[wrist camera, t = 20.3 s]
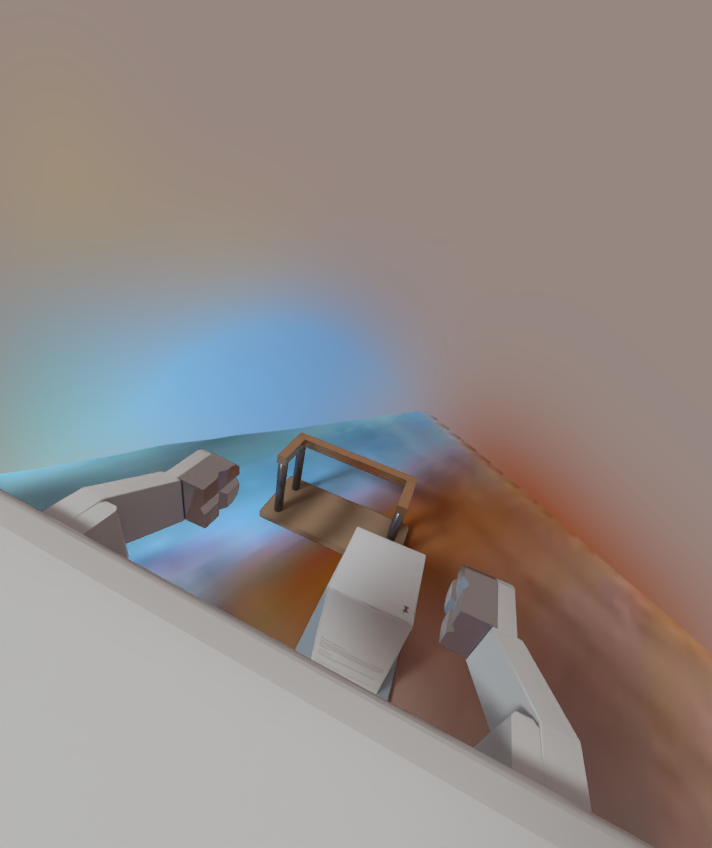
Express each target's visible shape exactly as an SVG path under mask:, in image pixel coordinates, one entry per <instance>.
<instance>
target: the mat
mask: <svg viewBox="0 0 712 848" xmlns="http://www.w3.org/2000/svg"><path fill="white" fill-rule="evenodd" d="M329 582H330V581H329ZM328 584H329V583H328ZM327 586H328V585H327ZM326 593H327V587H326V589H325V591H324V593H323V595H322V597H321V599H320V601H319V603H318V605H317V607H316V609H315V611H314V613H313V615H312V617H311V619H310V621H309V623H308V625H307V627H306V629H305V631H304V633H303V635H302V637H301V639H300V641H299V643H298V645H297V647H296V649H295V650H296V651H297V652H299V653H301V654H303V655H305V656H306V657H308V658H310V659H311V655H312V651H313V647H314V642H315V638H316V634H317V630H318V626H319V622H320V618H321V614H322V610H323V606H324V602H325V598H326ZM398 656H399V654H398ZM398 656H397V657H396V659H395V661H394V663H393V665H392V667H391V668H390V670H389V672H388V674H387V676H386V678H385V680H384V682H383V683H382V685H381V687H380V689H379V691H378V693H377V694H376V695H378V696H379V697H381V698H383V699H385V700H387V701H388V697H389V693H390V689H391V685H392V681H393V677H394V673H395V669H396V664H397V660H398ZM370 692H371V691H370Z"/></svg>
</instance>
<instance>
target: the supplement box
mask: <svg viewBox="0 0 712 848" xmlns="http://www.w3.org/2000/svg"><path fill="white" fill-rule="evenodd" d="M425 559H426V555H425V554H422V553H420V552H417V551H415V550H413V549H410V548H408V547H405V546H403V545H400V544H398V543H396V542H393V541H391V540H389V539H386V538H384V537H381V536H379V535H377V534H374V533H372V532H369V531H367V530H365V529H362V528H360V527H357V528H356V530H355V532H354V534H353V536H352V538H351V540H350V542H349V544H348V546H347V548H346V550H345V552H344V554H343V556H342V558H341V560H340V562H339V564H338V566H337V568H336V570H335V572H334V574H333V576H332V578H331V580H330V582H329V584H328V586H327V593H326V598H325V602H324V606H323V610H322V614H321V618H320V622H319V626H318V630H317V634H316V638H315V642H314V647H313V651H312V655H311V659H312V660H314V661H316V662H317V663H319V664H321V665H323V666H325V667H327V668H328V669H330V670H332V671H334V672H336V673H338V674H339V675H341V676H343V677H345V678H347V679H348V680H350V681H352V682H354V683H356V684H358V685H359V686H361V687H363V688H365V689H367V690H369V691H371V692H372V693H374V694H377V693H378V691H379V689H380V687H381V685H382V683H383V682H384V680H385V678H386V676H387V674H388V672H389V670H390V668H391V667H392V665H393V663H394V661H395V659H396V657H397V656H398V654H399V652H400V650H401V648H402V646H403V644H404V643H405V641H406V639H407V637H408V635H409V633H410V632H411V630H412V628H413V625H414V619H415V614H416V608H417V602H418V597H419V591H420V585H421V580H422V574H423V569H424V564H425Z"/></svg>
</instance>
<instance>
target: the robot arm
mask: <svg viewBox="0 0 712 848" xmlns="http://www.w3.org/2000/svg"><path fill="white" fill-rule="evenodd" d="M238 475H239V466H238V465H236V464H234V463H232V462H230V461H228V460H226V459H223V458H221V457H219V456H217V455H215V454H212V453H210V452H208V451H206V450H204V449H200V450H197V451H196V452H194V453H193V454H191V455H190V456H188V457H187V458H185V459H184V460H182V461H181V462H179V463H178V464H177V465H175V466H174V467H172V468H171V469H169V470H168V471H166V472H165V473H164V472H162V471H159V472H154V473H149V474H145V475H140V476H135V477H130V478H125V479H121V480H116V481H111V482H106V483H101V484H97V485H92V486H87V487H82V488H81V489H79V490H77V491H76V492H74V493H72V494H70V495H69V496H67V497H65V498H64V499H62V500H60V501H58V502H57V503H55V504H53V505H52V506H50V507H48V508H46V509H45V510H43V511H40V510H38V509H36V508H34V507H32V506H30V505H29V504H27V503H25V502H23V501H21V500H20V499H18V498H16V497H14V496H12V495H10V494H9V493H7V492H5V491H3V490H1V489H0V848H656V847H654V846H652V845H650V844H648V843H647V842H645V841H643V840H641V839H639V838H637V837H636V836H634V835H632V834H630V833H628V832H626V831H625V830H623V829H621V828H619V827H617V826H615V825H614V824H612V823H610V822H608V821H606V820H604V819H603V818H601V817H599V816H597V815H595V814H593V813H592V809H591V803H590V797H589V791H588V785H587V779H586V772H585V766H584V760H583V754H582V748H581V742H580V741H579V739H578V737H577V735H576V734H575V732H574V730H573V728H572V726H571V725H570V723H569V721H568V719H567V718H566V716H565V714H564V712H563V711H562V709H561V707H560V705H559V704H558V702H557V700H556V698H555V697H554V695H553V693H552V691H551V690H550V688H549V686H548V684H547V682H546V681H545V679H544V677H543V675H542V674H541V672H540V670H539V668H538V667H537V665H536V663H535V661H534V660H533V658H532V656H531V654H530V653H529V651H528V649H527V647H526V645H525V644H524V642H523V641H522V640H520V639H518V635H517V616H516V597H515V588H514V586H513V585H510V584H508V583H506V582H503V581H501V580H499V579H496V578H494V577H492V576H490V575H487V574H485V573H483V572H480V571H478V570H476V569H473V568H471V567H469V566H466V565H463V566H462V567H461V568H460V570H459V572H458V579H455V580H453V582H452V584H451V585H450V587H449V590H448V593H447V596H446V600H445V605H444V611H445V614H446V617H445V618H444V620H443V622H442V624H441V631H440V638H439V645H441V646H443V647H445V648H447V649H449V650H451V651H453V652H454V653H456V654H458V655H460V656H462V657H464V658H466V662H467V665H468V668H469V671H470V674H471V677H472V680H473V683H474V686H475V689H476V692H477V694H478V697H479V700H480V703H481V706H482V709H483V712H484V715H485V718H486V721H487V724H488V727H489V730H490V733H489V734H488V735H487V736H486V737H484V738H483V739H482V740H481V741H480V742H479V743H477V744H476V745H475V746H474V747H471V746H469V745H467V744H465V743H464V742H462V741H460V740H458V739H456V738H454V737H453V736H451V735H449V734H447V733H445V732H443V731H442V730H440V729H438V728H436V727H434V726H433V725H431V724H429V723H427V722H425V721H423V720H422V719H420V718H418V717H416V716H414V715H412V714H411V713H409V712H407V711H405V710H403V709H401V708H400V707H398V706H396V705H394V704H392V703H390V702H389V701H387V700H385V699H383V698H381V697H379V696H378V695H376V694H374V693H372V692H370V691H369V690H367V689H365V688H363V687H361V686H359V685H358V684H356V683H354V682H352V681H350V680H348V679H347V678H345V677H343V676H341V675H339V674H338V673H336V672H334V671H332V670H330V669H328V668H327V667H325V666H323V665H321V664H319V663H317V662H316V661H314V660H312V659H310V658H308V657H306V656H305V655H303V654H301V653H299V652H297V651H296V650H294V649H292V648H290V647H288V646H286V645H285V644H283V643H281V642H279V641H277V640H275V639H274V638H272V637H270V636H268V635H266V634H264V633H263V632H261V631H259V630H257V629H255V628H253V627H252V626H250V625H248V624H246V623H244V622H242V621H241V620H239V619H237V618H235V617H233V616H232V615H230V614H228V613H226V612H224V611H222V610H221V609H219V608H217V607H215V606H213V605H211V604H210V603H208V602H206V601H204V600H202V599H200V598H199V597H197V596H195V595H193V594H191V593H189V592H188V591H186V590H184V589H182V588H180V587H178V586H177V585H175V584H173V583H171V582H169V581H167V580H166V579H164V578H162V577H160V576H158V575H157V574H155V573H153V572H151V571H149V570H147V569H146V568H144V567H142V566H140V565H138V564H136V563H135V562H133V561H131V560H129V559H128V556H129V555H128V551H127V547H126V543H129V542H131V541H134V540H136V539H139V538H141V537H144V536H146V535H149V534H151V533H154V532H156V531H159V530H161V529H164V528H166V527H169V526H171V525H174V524H176V523H179V522H181V521H184V519H186V520H188V521H190V522H192V523H194V524H197V525H199V526H201V527H203V528H206V527H207V526H208V525H209V524H210V523H211V522H212V521H214V520H215V519H216V518H217V517H218V516H219V510H220V509H223V508H226V507H228V506H229V505H230V504H231V503H232V502H233V500H234V499H235V497H236V495H237V493H238V490H239V482H238V480H237V478H236V476H238Z"/></svg>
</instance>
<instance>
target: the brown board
mask: <svg viewBox="0 0 712 848" xmlns="http://www.w3.org/2000/svg"><path fill="white" fill-rule="evenodd" d="M292 482H293V476H290V477H289V478H288V479H287V481H286V485H285V493H284V502H283V510H282V511H281V512H276V511H274V503H275V494H276V493H275V494H274V495H273V496H272V497H271V498H270V500H269V501H268V502H267V503H266V504H265V505H264V506H263V507H262V509H261V510H260V517H263V518H265V519H267V520H269V521H271V522H273V523H275V524H278V525H280V526H282V527H284V528H286V529H288V530H290V531H293V532H295V533H297V534H299V535H301V536H303V537H306V538H308V539H310V540H312V541H314V542H316V543H318V544H321V545H323V546H325V547H327V548H329V549H331V550H334V551H336V552H338V553H340V554H342V555H343V554H344V552H345V550H346V548H347V546H348V544H349V542H350V540H351V538H352V536H353V534H354V532H355V530H356V528H357V527H360V528H362V529H365V530H367V531H369V532H372V533H374V534H377V535H379V536H381V537H384V538H386V535H387V532H388V530H389V527H390V524H391V522H392V519H391V518H388V517H386V516H384V515H381V514H379V513H377V512H374V511H372V510H370V509H367V508H365V507H363V506H360V505H358V504H356V503H353V502H351V501H349V500H346V499H344V498H342V497H339V496H337V495H335V494H332V493H330V492H328V491H325V490H323V489H321V488H318V487H316V486H314V485H311V484H309V483H307V482H304V481H302V480H301V482H300V489H299V490H298V491H294V490H292ZM408 529H409V526H407V525H405V524H401V526H400V529H399V531H398V534H397V536H396V539H395V541H394V542H396V543H398V544H400V545H404V541H405V538H406V535H407V532H408Z"/></svg>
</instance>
